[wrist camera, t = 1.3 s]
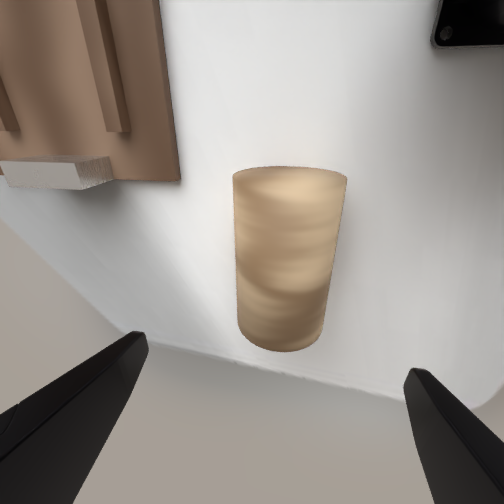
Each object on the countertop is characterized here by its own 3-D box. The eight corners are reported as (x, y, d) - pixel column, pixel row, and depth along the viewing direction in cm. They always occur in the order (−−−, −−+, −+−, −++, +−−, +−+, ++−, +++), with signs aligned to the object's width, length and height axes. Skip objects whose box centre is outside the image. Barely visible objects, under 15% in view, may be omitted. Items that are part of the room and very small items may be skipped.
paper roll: (349, 169, 15) (344, 194, 10) (326, 302, 20) (315, 363, 15) (254, 164, 17) (212, 182, 12) (254, 287, 22) (223, 337, 17)
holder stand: (130, -223, 10) (52, -381, 7) (180, 178, 18) (154, 193, 15) (-139, -170, 12) (-298, -275, 9) (7, 172, 20) (-52, 184, 16)
